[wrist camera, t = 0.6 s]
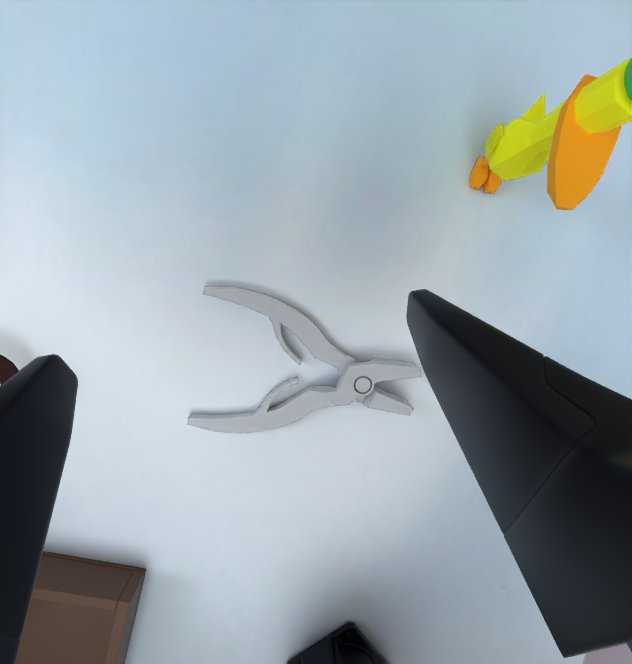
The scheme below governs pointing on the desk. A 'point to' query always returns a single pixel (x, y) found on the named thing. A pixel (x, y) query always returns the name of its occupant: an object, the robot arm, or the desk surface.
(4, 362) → the watch
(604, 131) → the toy figure
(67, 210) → the desk surface
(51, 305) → the desk surface
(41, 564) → the tray
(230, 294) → the pliers
